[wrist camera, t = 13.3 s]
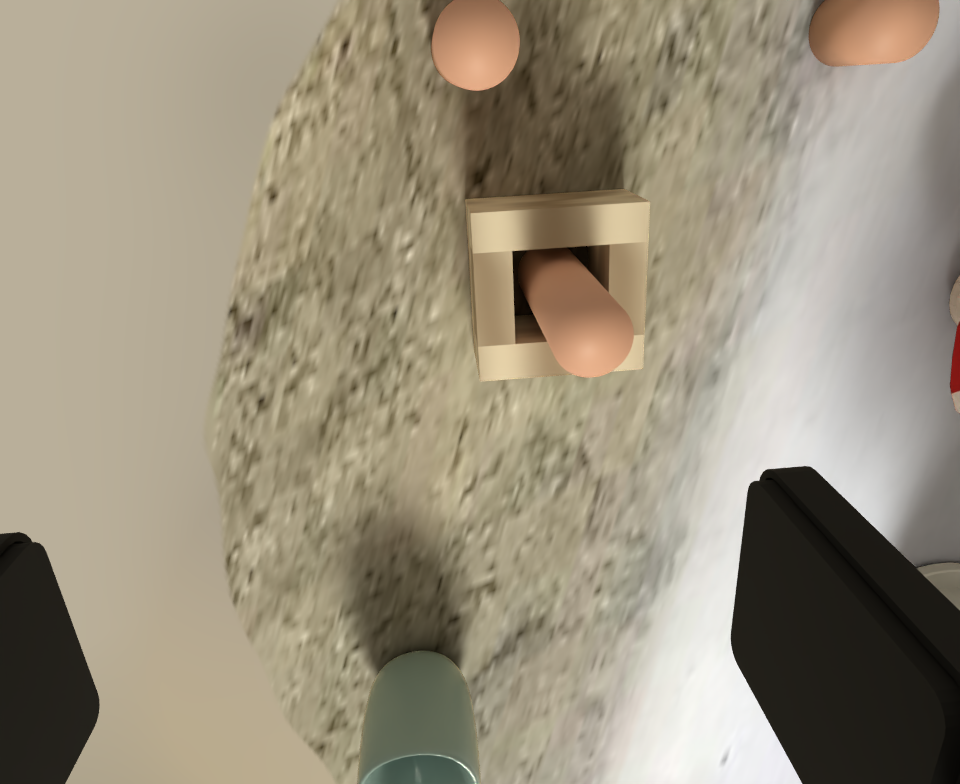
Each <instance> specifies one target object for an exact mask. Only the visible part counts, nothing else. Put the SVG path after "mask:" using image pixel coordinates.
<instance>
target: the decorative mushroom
mask: <svg viewBox="0 0 960 784" xmlns="http://www.w3.org/2000/svg"><path fill="white" fill-rule="evenodd" d="M949 307H950V314H951V316H952V319H953V321H954V322H955V323H956V324H957V331H956V337H955V343H954V350H953V356H952V367H951V380H950V389H951V395H952V398H953V402H954V406H955V410H956V411H957V412H958V413H959V414H960V276H959V277H958V279H957V280H956V282H955V284H954V286H953V289H952V291H951V295H950V301H949Z"/></svg>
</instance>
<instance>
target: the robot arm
mask: <svg viewBox="0 0 960 784" xmlns="http://www.w3.org/2000/svg"><path fill="white" fill-rule="evenodd" d="M731 646H732V650H733V654H734V657H735V660H736V662H737V665H738V666H739V668H740V670H741V672H742V674H743V676H744V677H745V679H746V681H747V683H748V685H749V687H750V688H751V690H752V692H753V694H754V696H755V698H756V699H757V701H758V703H759V705H760V707H761V709H762V710H763V712H764V714H765V716H766V718H767V720H768V721H769V723H770V725H771V727H772V729H773V731H774V732H775V734H776V736H777V738H778V740H779V742H780V743H781V745H782V747H783V749H784V751H785V752H786V754H787V756H788V758H789V760H790V762H791V763H792V765H793V767H794V769H795V771H796V773H797V774H798V776H799V778H800V780H801V782H802V784H960V563H950V562H949V563H938V564H931V565H927V566H923V567H919V568H916V567H915V566H914V565H912V564H911V563H910V562H909V561H908V560H907V559H906V558H905V557H904V556H903V555H902V554H901V553H900V552H899V551H898V550H897V549H896V548H895V547H894V546H893V545H892V544H891V543H890V542H889V541H888V540H887V539H886V538H885V537H884V536H883V535H882V534H881V533H880V532H879V531H877V530H876V529H875V528H874V527H873V526H872V525H871V524H870V523H869V522H868V521H867V520H866V519H865V518H864V517H863V516H862V515H861V514H860V513H859V512H858V511H857V510H856V509H855V508H854V507H853V506H852V505H851V504H850V503H849V502H848V501H847V500H846V499H845V498H843V497H842V496H841V495H840V494H839V493H838V492H837V491H836V490H835V489H834V488H833V487H832V486H831V485H830V484H829V483H828V482H827V481H826V480H825V479H824V478H823V477H822V476H821V475H820V474H819V473H818V472H817V471H816V470H814V469H813V468H811V467H807V466H803V467H791V468H779V469H767V470H766V471H764V472H763V473H762V475H761V477H760V481H753V482H752V483H751V484H750V486H749V488H748V493H747V502H746V510H745V519H744V527H743V536H742V544H741V553H740V561H739V570H738V578H737V587H736V595H735V604H734V612H733V621H732V629H731ZM98 714H99V696H98V693H97V690H96V687H95V685H94V682H93V679H92V676H91V673H90V671H89V668H88V666H87V663H86V660H85V657H84V654H83V652H82V649H81V646H80V643H79V640H78V638H77V635H76V632H75V629H74V627H73V624H72V621H71V618H70V616H69V613H68V610H67V607H66V605H65V602H64V599H63V596H62V594H61V591H60V588H59V586H58V583H57V580H56V577H55V575H54V572H53V569H52V566H51V564H50V561H49V558H48V556H47V553H46V551H45V549H44V547H43V546H42V545H41V544H40V543H36V542H32V541H31V539H30V538H29V537H28V536H27V535H26V534H23V533H20V532H17V533H6V534H0V784H65V783H66V781H67V779H68V777H69V775H70V773H71V771H72V769H73V767H74V765H75V763H76V762H77V759H78V758H79V756H80V754H81V752H82V750H83V748H84V746H85V744H86V742H87V740H88V738H89V736H90V735H91V733H92V730H93V729H94V727H95V724H96V722H97V718H98Z"/></svg>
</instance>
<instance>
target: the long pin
mask: <svg viewBox="0 0 960 784" xmlns="http://www.w3.org/2000/svg"><path fill="white" fill-rule="evenodd" d="M517 276H518V282H519V285H520V287H521V289H522V291H523V293H524V295H525V297H526V299H527V301H528V303H529V305H530V308H531V310H532V312H533V314H534V316H535V318H536V320H537V322H538V324H539V326H540V328H541V330H542V332H543V334H544V336H545V338H546V340H547V342H548V344H549V346H550V348H551V350H552V352H553V354H554V357H555V358H556V360H557V362H558V363H559V364H560V365H561V366H562V367H563V368H564V369H565V370H566V371H568V372H570V373H571V374H574V375H576V376H580V377H598V376H602V375H605V374H607V373H609V372H611V371H613V370H614V369H616V368H617V367H618V366H619V365H620V364H621V363H622V362H623V361H624V360H625V359H626V357H627V356H628V354H629V352H630V350H631V347H632V344H633V339H634V329H633V324H632V321H631V319H630V317H629V315H628V314H627V312H626V311H625V310H624V309H623V308H622V307H621V306H620V305H619V303H618V302H617V301H616V300H615V299H614V298H613V297H612V296H611V295H610V294H609V293H608V291H607V290H606V289H605V288H604V287H603V286H602V285H601V284H600V283H599V282H598V281H597V279H596V278H595V277H594V276H593V275H592V274H591V273H590V272H589V271H588V270H587V269H586V267H585V266H584V265H583V264H582V263H581V262H580V261H579V260H578V259H577V258H576V257H575V255H574V254H573V253H572V252H571V251H570V250H569V249H568V248H567V247H564V248H549V249H534V250H528V251H527V252H526V253H525V254H524V255H523V257H522V259H521V260H520V263H519V266H518V271H517Z"/></svg>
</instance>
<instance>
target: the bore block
mask: <svg viewBox="0 0 960 784" xmlns="http://www.w3.org/2000/svg"><path fill="white" fill-rule="evenodd" d="M465 204H466V221H467V237H468V254H469V271H470V288H471V305H472V322H473V339H474V352H475V357H476V363H477V368H478V373H479V379H480V381H493V380H506V379H519V378H532V377H545V376H559V375H572V374H571V373H570V372H568V371H566V370H565V369H564V368H563V367H562V366H561V365H560V364H559V363H558V362H557V360H556V358H555V357H554V354H553V352H552V350H551V348H550V346H549V344H548V342H547V340H546V338H545V336H544V334H543V332H542V330H541V328H540V326H539V324H538V322H537V320H536V318H535V316H534V315H520V316H514V290H513V261H512V251H519V250H534V249H549V248H564V247H578V246H589V250H588V271H589V272H590V273H591V274H592V275H593V276H594V277H595V278H596V279H597V281H598V282H599V283H600V284H601V285H602V286H603V287H604V288H605V289H606V290H607V291H608V293H609V294H610V295H611V296H612V297H613V298H614V299H615V300H616V301H617V302H618V303H619V305H620V306H621V307H622V308H623V309H624V310H625V311H626V312H627V314H628V315H629V317H630V319H631V321H632V324H633V329H634V339H633V344H632V347H631V350H630V352H629V354H628V356H627V357H626V359H625V360H624V361H623V362H622V363H621V364H620V365H619V366H618V367H617V368H616V369H614V370H613V371H624V370H637V369H643V355H644V332H645V309H646V286H647V263H648V240H649V217H650V201H648V200H646V199H644V198H642V197H640V196H638V195H636V194H634V193H632V192H629V191H627V190H625V189H614V190H598V191H583V192H567V193H552V194H536V195H521V196H505V197H490V198H474V199H465Z"/></svg>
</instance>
